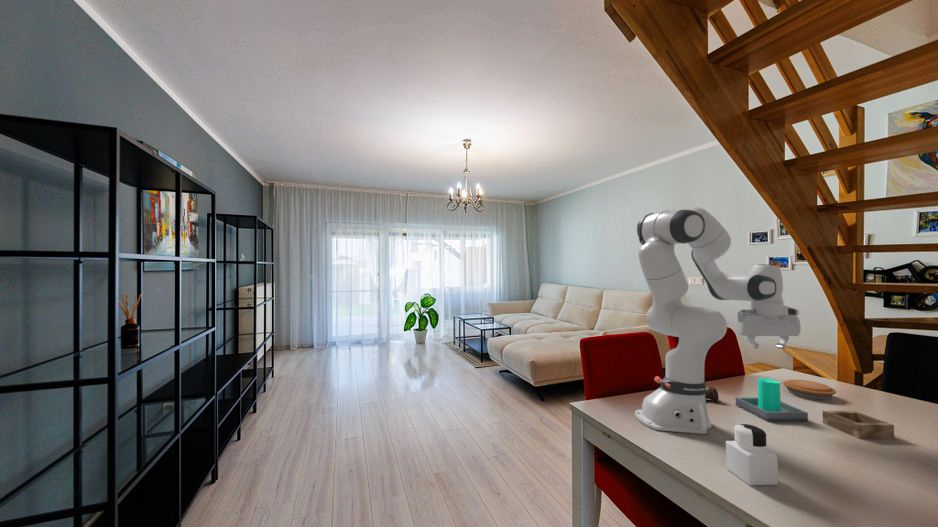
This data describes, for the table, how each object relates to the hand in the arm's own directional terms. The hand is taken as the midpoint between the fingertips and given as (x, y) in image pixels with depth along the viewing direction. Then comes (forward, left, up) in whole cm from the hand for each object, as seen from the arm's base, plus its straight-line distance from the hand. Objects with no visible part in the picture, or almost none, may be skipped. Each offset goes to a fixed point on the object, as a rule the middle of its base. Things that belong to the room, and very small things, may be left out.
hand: (767, 348), depth 121 cm
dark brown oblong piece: (-18, +14, -23) cm, 33 cm away
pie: (+31, +18, -23) cm, 43 cm away
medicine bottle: (-37, -38, -23) cm, 58 cm away
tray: (0, 0, -23) cm, 23 cm away
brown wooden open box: (+16, -13, -23) cm, 31 cm away
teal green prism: (0, 0, -22) cm, 22 cm away
